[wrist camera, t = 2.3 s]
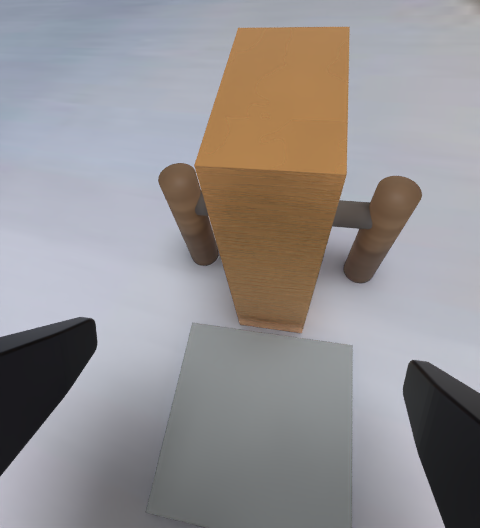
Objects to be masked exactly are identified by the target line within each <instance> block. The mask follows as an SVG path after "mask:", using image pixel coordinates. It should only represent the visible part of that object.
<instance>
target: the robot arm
mask: <svg viewBox="0 0 480 528" xmlns="http://www.w3.org/2000/svg"><path fill="white" fill-rule="evenodd" d="M96 348H97V334H96V324H95V321H94V320H93V319H92V318H85V317H78V318H74V319H70V320H66V321H62V322H58V323H54V324H50V325H46V326H42V327H39V328H35V329H31V330H27V331H23V332H19V333H15V334H11V335H7V336H3V337H0V476H1V475H2V474H3V472H4V471H5V470H6V469H7V468H8V466H9V465H10V464H11V463H12V461H13V460H14V459H15V458H16V456H17V455H18V454H19V453H20V451H21V450H22V449H23V448H24V446H25V445H26V444H27V443H28V441H29V440H30V439H31V438H32V436H33V435H34V434H35V433H36V432H37V430H38V429H39V428H40V427H41V425H42V424H43V423H44V422H45V420H46V419H47V418H48V417H49V415H50V414H51V413H52V412H53V410H54V409H55V408H56V407H57V405H58V404H59V403H60V402H61V401H62V399H63V398H64V397H65V395H66V394H67V393H68V391H69V390H70V388H71V387H72V386H73V384H74V383H75V381H76V380H77V378H78V376H79V375H80V373H81V372H82V370H83V369H84V367H85V366H86V364H87V363H88V361H89V360H90V358H91V357H92V355H93V354H94V352H95V350H96ZM403 396H404V400H405V404H406V408H407V412H408V416H409V420H410V424H411V428H412V432H413V436H414V440H415V444H416V448H417V451H418V454H419V457H420V460H421V463H422V466H423V468H424V471H425V474H426V477H427V479H428V482H429V485H430V487H431V490H432V493H433V495H434V498H435V501H436V504H437V506H438V509H439V512H440V514H441V517H442V520H443V523H444V525H445V528H480V393H478V392H477V391H475V390H473V389H472V388H470V387H468V386H467V385H465V384H464V383H462V382H460V381H459V380H457V379H455V378H454V377H452V376H450V375H449V374H447V373H446V372H444V371H442V370H441V369H439V368H437V367H436V366H434V365H432V364H431V363H429V362H426V361H418V360H412V361H410V363H409V364H408V368H407V373H406V377H405V381H404V385H403Z"/></svg>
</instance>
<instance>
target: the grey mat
mask: <svg viewBox="0 0 480 528" xmlns="http://www.w3.org/2000/svg"><path fill="white" fill-rule="evenodd" d="M352 363H353V345H347V344H339V343H332V342H325V341H318V340H311V339H304V338H297V337H290V336H283V335H276V334H269V333H262V332H255V331H247V330H240V329H233V328H226V327H219V326H212V325H205V324H198V323H192V326H191V330H190V335H189V339H188V343H187V347H186V351H185V355H184V359H183V363H182V367H181V371H180V375H179V379H178V383H177V387H176V391H175V395H174V399H173V403H172V407H171V412H170V416H169V420H168V424H167V428H166V432H165V436H164V440H163V444H162V448H161V452H160V456H159V460H158V464H157V468H156V472H155V476H154V480H153V484H152V488H151V493H150V497H149V501H148V505H147V509H146V513H149V514H153V515H157V516H161V517H165V518H169V519H173V520H177V521H181V522H185V523H189V524H193V525H198V526H202V527H206V528H351V522H352Z"/></svg>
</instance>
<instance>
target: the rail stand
mask: <svg viewBox="0 0 480 528" xmlns="http://www.w3.org/2000/svg"><path fill="white" fill-rule="evenodd" d="M158 182H159V185H160V187H161V189H162V191H163V194H164V196H165V198H166V200H167V203H168V205H169V207H170V209H171V211H172V214H173V216H174V218H175V220H176V223H177V225H178V227H179V229H180V232H181V234H182V236H183V238H184V241H185V243H186V245H187V247H188V249H189V252H190V254H191V256H192V258H193V260H194V262H195V263H197V264H199V265H203V266H205V265H209V264H212V263H213V262H214V261H215V260H216V259H217V257H218V248H217V245H216V241H215V238H214V234H213V231H212V227H211V224H210V220H209V217H208V216H209V215H208V211H207V208H206V204H205V201H204V197H203V194H202V190H200V186H199V183H198V179H197V176H196V172H195V170H194V168H193V167H192V166H190V165H188V164H184V163H177V164H172V165H170V166H168V167H166V168H165V169H164V170H163V171H162V172H161V173H160V175H159V179H158ZM421 197H422V192H421V189H420V187H419V186H418V185H417V184H416V183H415V182H414V181H412V180H411V179H408V178H406V177H402V176H390V177H387V178H384V179H383V180H381V181H380V182H379V184H378V186H377V188H376V190H375V193H374V195H373V198H372V200H371V202H370V203H368V202H355V201H341V200H339V203H338V206H337V210H336V214H335V217H334V221H333V224H332V226H334V227H346V228H358V229H359V231H358V233H357V236H356V238H355V241H354V243H353V245H352V248H351V250H350V253H349V255H348V257H347V260H346V262H345V265H344V272H345V275H346V276H347V277H348V278H349V279H350V280H352V281H354V282H357V283H365V282H367V281H369V280H370V279H371V278H372V277H373V275H374V274H375V272H376V270H377V269H378V267H379V266H380V264H381V262H382V261H383V259H384V258H385V256H386V254H387V253H388V251H389V250H390V248H391V246H392V245H393V243H394V242H395V240H396V238H397V237H398V235H399V234H400V232H401V230H402V229H403V227H404V226H405V224H406V222H407V221H408V219H409V218H410V216H411V214H412V213H413V211H414V210H415V208H416V206H417V205H418V203H419V202H420V200H421Z"/></svg>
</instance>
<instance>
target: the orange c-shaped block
mask: <svg viewBox="0 0 480 528" xmlns="http://www.w3.org/2000/svg"><path fill="white" fill-rule="evenodd" d="M348 76H349V27H284V28H238V30H237V34H236V37H235V40H234V43H233V46H232V49H231V52H230V55H229V59H228V62H227V65H226V68H225V71H224V74H223V77H222V80H221V84H220V87H219V90H218V93H217V96H216V99H215V102H214V106H213V109H212V112H211V115H210V118H209V121H208V124H207V127H206V131H205V134H204V137H203V140H202V143H201V146H200V149H199V153H198V156H197V159H196V162H195V165H194V166H195V169H196V173H197V176H198V180H199V183H200V187H201V190H202V194H203V197H204V201H205V204H206V208H207V211H208V215H209V218H210V222H211V225H212V229H213V232H214V236H215V239H216V243H217V246H218V249H219V253H220V256H221V260H222V263H223V267H224V270H225V274H226V277H227V281H228V284H229V288H230V291H231V295H232V298H233V302H234V305H235V309H236V312H237V316H238V319H239V323H240V325H247V326H254V327H261V328H268V329H276V330H283V331H290V332H297V333H302V330H303V327H304V323H305V320H306V316H307V313H308V309H309V305H310V302H311V298H312V295H313V291H314V288H315V284H316V281H317V277H318V274H319V270H320V267H321V263H322V259H323V256H324V252H325V249H326V245H327V242H328V238H329V235H330V231H331V228H332V224H333V221H334V217H335V214H336V210H337V206H338V203H339V199H340V196H341V192H342V189H343V185H344V182H345V178H346V175H347V126H348Z"/></svg>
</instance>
